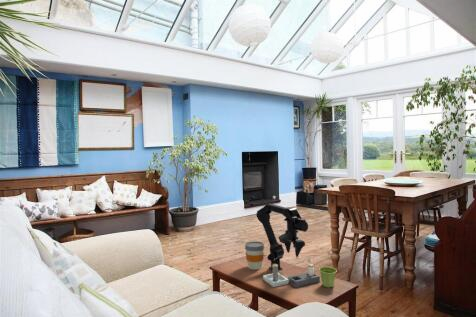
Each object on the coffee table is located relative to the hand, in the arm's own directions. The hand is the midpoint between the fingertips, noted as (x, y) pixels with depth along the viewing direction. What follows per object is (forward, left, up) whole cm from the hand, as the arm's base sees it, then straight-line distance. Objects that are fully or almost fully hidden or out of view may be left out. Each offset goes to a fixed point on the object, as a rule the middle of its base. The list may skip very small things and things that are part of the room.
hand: (292, 254), depth 187 cm
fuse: (+11, +5, -12) cm, 17 cm away
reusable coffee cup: (-23, -14, -13) cm, 30 cm away
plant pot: (+21, +9, -13) cm, 26 cm away
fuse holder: (+11, 0, -12) cm, 17 cm away
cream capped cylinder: (+3, -14, -12) cm, 19 cm away
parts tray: (+3, -14, -12) cm, 19 cm away
